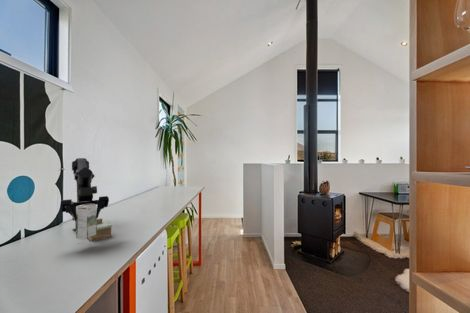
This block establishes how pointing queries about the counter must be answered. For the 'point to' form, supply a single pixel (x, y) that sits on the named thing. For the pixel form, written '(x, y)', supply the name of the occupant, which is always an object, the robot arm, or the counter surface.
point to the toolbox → (101, 234)
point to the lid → (102, 224)
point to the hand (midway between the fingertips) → (86, 219)
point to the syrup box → (86, 221)
